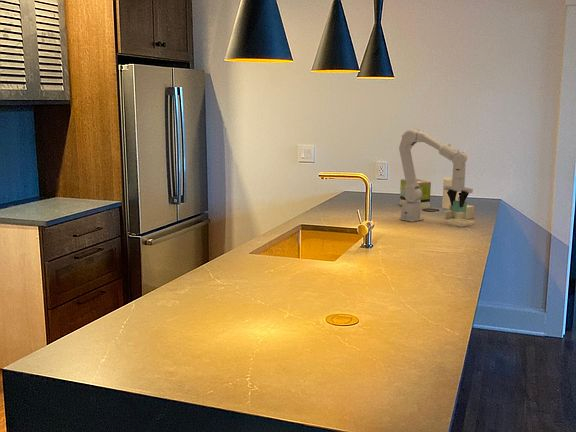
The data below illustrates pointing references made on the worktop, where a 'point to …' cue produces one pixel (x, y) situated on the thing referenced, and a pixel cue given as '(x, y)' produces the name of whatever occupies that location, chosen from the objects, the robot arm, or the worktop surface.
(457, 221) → the tray
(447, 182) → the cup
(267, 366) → the worktop surface
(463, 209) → the tall grey-green carton
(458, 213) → the bay
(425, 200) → the tea box
